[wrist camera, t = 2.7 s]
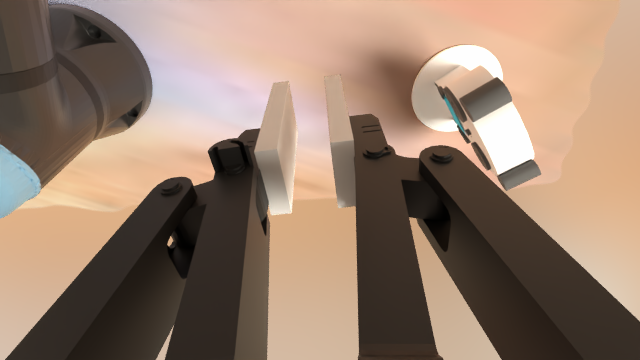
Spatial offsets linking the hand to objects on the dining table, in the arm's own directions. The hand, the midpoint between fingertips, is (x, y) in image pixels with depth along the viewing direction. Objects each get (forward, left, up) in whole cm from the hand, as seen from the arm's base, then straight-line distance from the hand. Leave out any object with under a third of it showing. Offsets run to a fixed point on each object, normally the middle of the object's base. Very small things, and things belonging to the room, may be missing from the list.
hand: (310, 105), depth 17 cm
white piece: (+17, -11, -27) cm, 33 cm away
